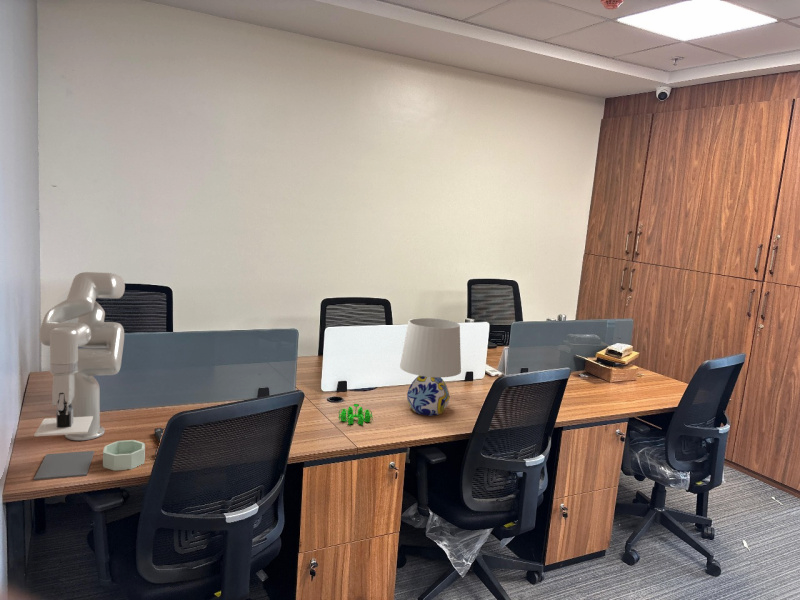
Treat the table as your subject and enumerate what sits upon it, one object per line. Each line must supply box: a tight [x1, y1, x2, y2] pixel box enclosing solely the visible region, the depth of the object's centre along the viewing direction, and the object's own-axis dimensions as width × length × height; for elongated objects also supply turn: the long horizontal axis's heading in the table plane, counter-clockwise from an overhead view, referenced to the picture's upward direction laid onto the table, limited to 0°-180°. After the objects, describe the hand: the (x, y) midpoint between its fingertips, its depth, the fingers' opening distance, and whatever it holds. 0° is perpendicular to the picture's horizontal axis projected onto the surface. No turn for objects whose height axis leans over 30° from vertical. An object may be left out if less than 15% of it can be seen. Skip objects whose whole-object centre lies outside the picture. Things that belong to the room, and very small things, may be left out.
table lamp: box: [399, 317, 462, 417], centre depth 261 cm, size 27×27×40 cm
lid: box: [33, 407, 93, 437], centre depth 184 cm, size 14×14×6 cm
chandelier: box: [338, 403, 374, 426], centre depth 245 cm, size 15×15×7 cm
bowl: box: [102, 439, 146, 472], centre depth 192 cm, size 12×12×5 cm
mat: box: [33, 450, 95, 481], centre depth 187 cm, size 18×14×1 cm
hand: (65, 423), depth 185 cm, fingers closed on lid, 4 cm apart
